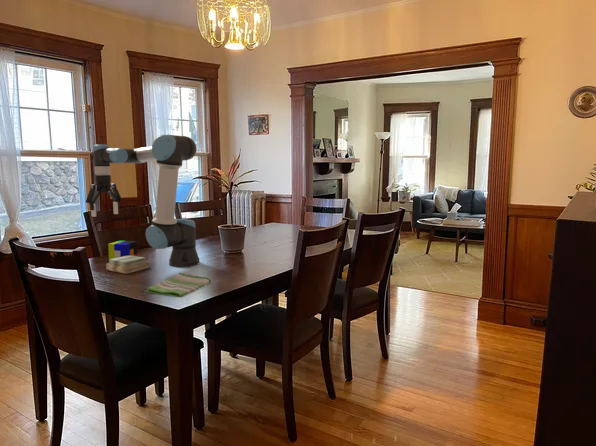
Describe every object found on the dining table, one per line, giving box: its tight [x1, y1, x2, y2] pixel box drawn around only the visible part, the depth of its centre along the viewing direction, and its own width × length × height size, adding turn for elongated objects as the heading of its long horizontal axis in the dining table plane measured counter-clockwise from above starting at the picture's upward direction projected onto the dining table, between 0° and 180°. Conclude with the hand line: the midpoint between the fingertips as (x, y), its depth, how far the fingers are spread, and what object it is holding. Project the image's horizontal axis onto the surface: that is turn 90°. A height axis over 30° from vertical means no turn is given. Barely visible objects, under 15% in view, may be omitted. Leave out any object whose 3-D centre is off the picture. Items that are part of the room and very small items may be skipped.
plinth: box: [105, 255, 150, 274], centre depth 214 cm, size 14×14×5 cm
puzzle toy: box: [107, 240, 138, 260], centre depth 230 cm, size 10×10×10 cm
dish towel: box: [146, 272, 212, 298], centre depth 184 cm, size 17×23×4 cm
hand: (105, 215), depth 231 cm, fingers open, 13 cm apart
